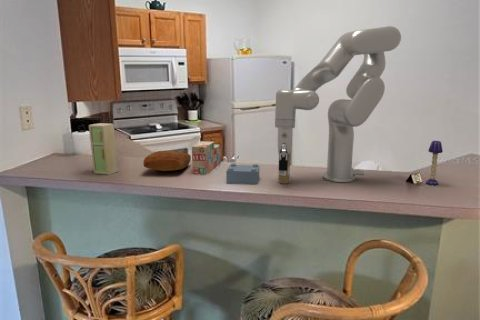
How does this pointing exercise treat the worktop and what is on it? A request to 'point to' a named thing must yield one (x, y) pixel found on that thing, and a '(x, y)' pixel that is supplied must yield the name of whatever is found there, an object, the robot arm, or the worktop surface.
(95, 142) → the toy refrigerator
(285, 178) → the sprinkles bottle
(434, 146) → the toy lamp
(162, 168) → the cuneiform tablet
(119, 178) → the worktop surface
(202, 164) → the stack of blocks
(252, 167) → the base brick
